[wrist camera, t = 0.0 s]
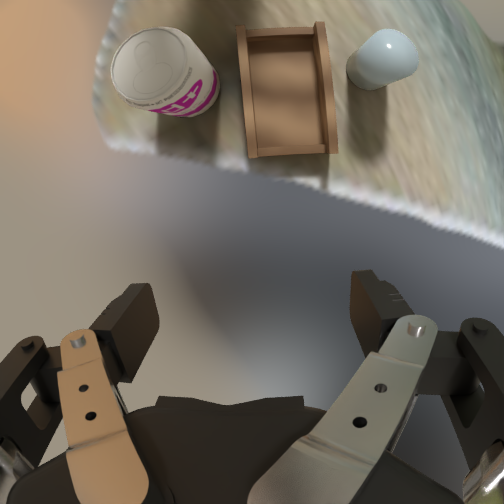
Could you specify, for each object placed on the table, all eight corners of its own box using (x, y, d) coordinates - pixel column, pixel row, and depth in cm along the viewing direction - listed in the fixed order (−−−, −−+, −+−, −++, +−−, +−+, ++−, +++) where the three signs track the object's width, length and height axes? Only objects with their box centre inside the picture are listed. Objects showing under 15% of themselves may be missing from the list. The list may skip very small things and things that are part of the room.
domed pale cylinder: (343, 50, 32) (365, 26, 23) (383, 53, 32) (414, 32, 23) (348, 89, 34) (373, 75, 25) (388, 91, 34) (421, 80, 24)
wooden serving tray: (239, 38, 33) (235, 25, 28) (317, 35, 32) (324, 21, 27) (251, 156, 38) (248, 158, 33) (329, 151, 37) (338, 153, 32)
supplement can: (229, 104, 36) (206, 84, 22) (170, 127, 37) (118, 123, 23) (209, 50, 33) (178, 7, 19) (152, 74, 35) (96, 48, 21)
